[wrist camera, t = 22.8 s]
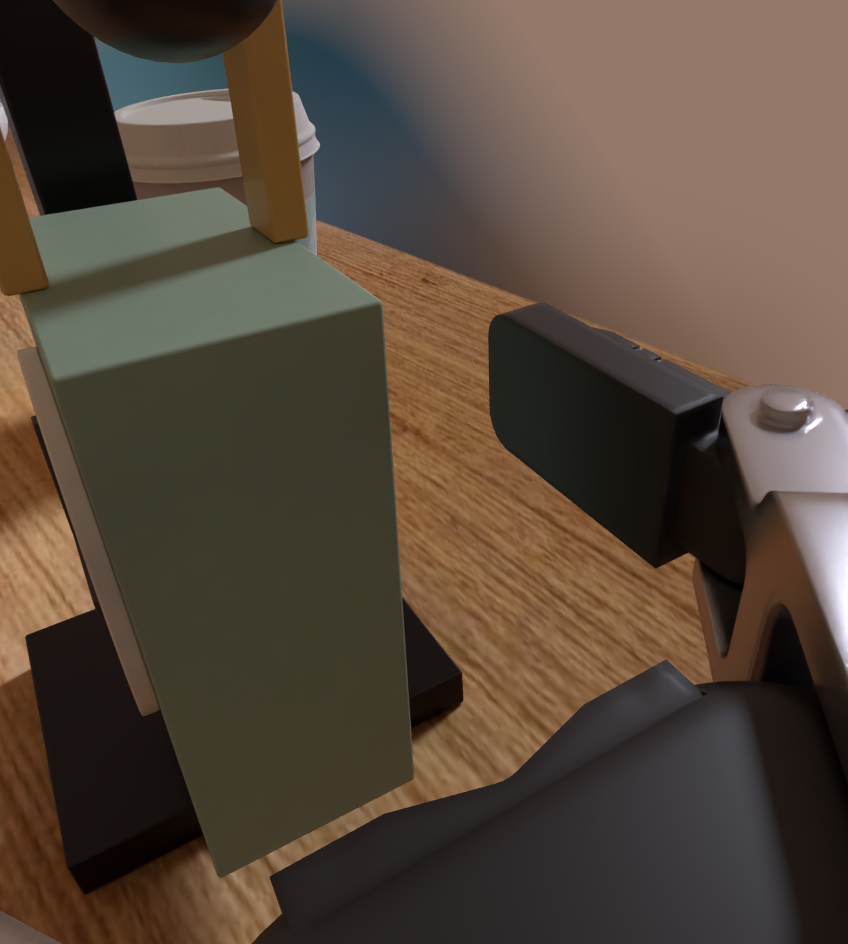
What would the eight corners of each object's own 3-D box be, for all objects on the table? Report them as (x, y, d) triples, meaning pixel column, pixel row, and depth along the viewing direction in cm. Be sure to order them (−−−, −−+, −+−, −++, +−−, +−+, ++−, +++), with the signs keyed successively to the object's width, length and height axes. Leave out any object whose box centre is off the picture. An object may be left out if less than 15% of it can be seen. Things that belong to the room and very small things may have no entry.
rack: (342, 542, 27) (233, -132, 16) (612, 894, 17) (784, -296, 6) (38, 663, 23) (-357, -107, 13) (145, 1210, 13) (-1455, -413, 2)
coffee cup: (372, 388, 36) (339, 105, 29) (185, 436, 33) (100, 139, 27) (321, 321, 42) (284, 77, 36) (161, 357, 40) (89, 102, 33)
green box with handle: (295, 574, 21) (172, -161, 12) (424, 774, 16) (367, -254, 7) (117, 640, 19) (-174, -167, 10) (197, 892, 14) (-250, -297, 5)
